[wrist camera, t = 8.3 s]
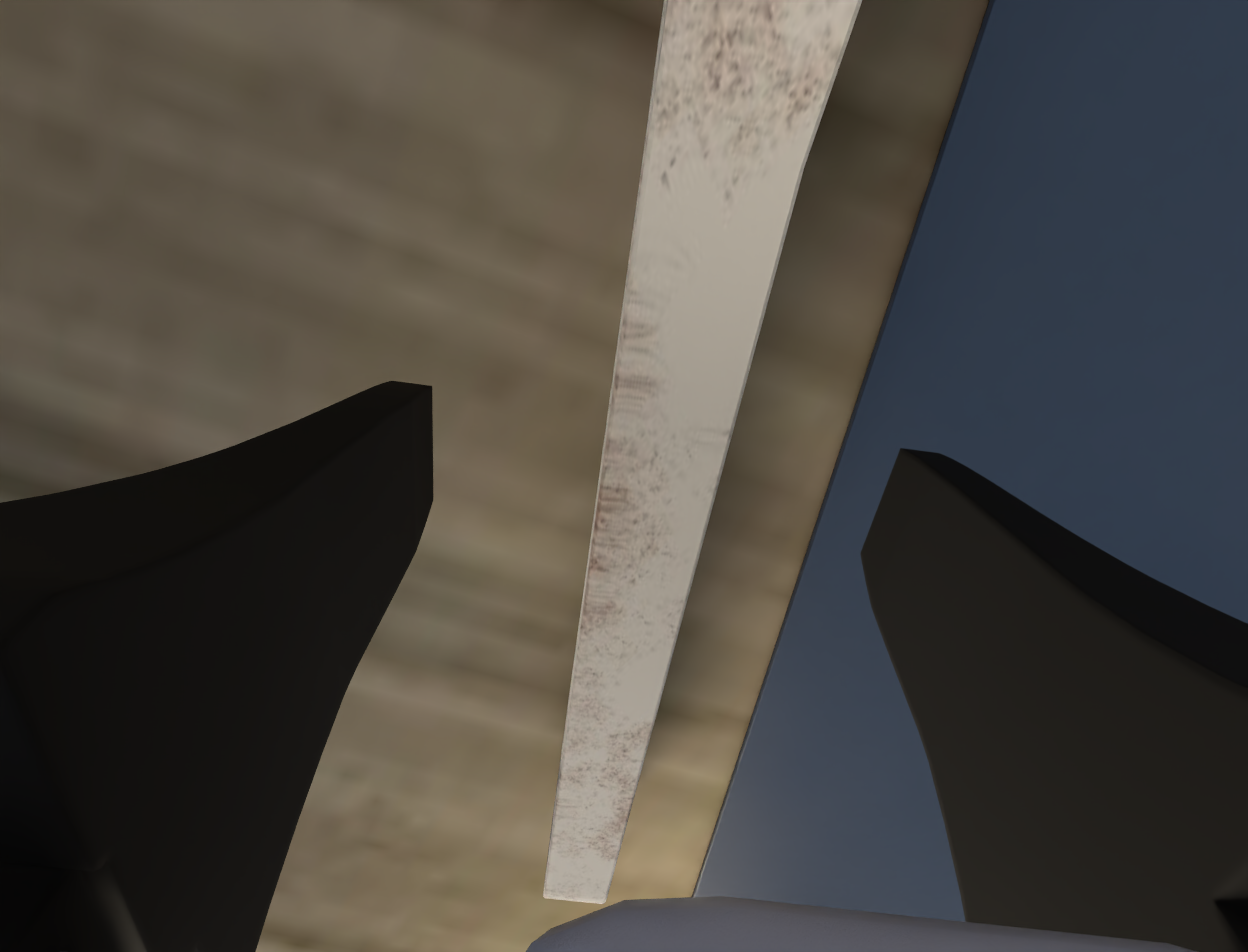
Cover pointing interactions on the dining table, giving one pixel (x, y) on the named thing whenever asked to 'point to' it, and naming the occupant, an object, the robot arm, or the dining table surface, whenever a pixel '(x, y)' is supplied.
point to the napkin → (1021, 408)
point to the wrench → (681, 374)
